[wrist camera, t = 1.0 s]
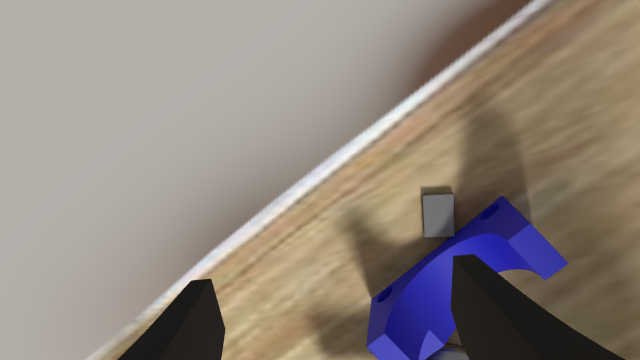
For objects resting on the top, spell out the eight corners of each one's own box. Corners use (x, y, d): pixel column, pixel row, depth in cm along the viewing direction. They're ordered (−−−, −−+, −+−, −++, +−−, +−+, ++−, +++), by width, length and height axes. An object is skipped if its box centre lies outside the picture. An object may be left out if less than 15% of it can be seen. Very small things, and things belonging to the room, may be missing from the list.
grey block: (453, 234, 28) (454, 236, 28) (424, 235, 28) (424, 237, 28) (452, 193, 27) (453, 194, 27) (422, 194, 28) (423, 195, 27)
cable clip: (412, 340, 31) (416, 398, 25) (371, 298, 30) (366, 347, 25) (546, 242, 27) (587, 283, 22) (501, 195, 27) (530, 223, 21)
